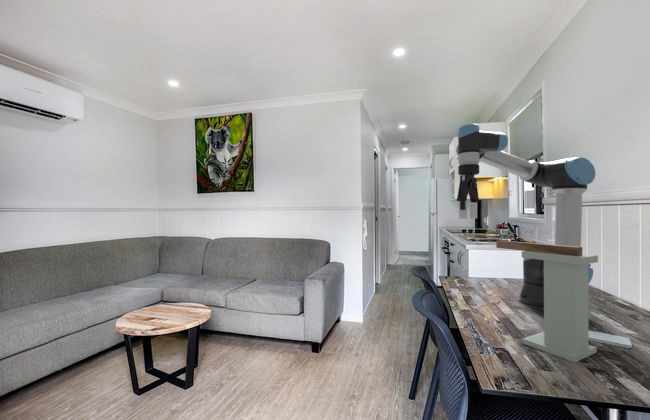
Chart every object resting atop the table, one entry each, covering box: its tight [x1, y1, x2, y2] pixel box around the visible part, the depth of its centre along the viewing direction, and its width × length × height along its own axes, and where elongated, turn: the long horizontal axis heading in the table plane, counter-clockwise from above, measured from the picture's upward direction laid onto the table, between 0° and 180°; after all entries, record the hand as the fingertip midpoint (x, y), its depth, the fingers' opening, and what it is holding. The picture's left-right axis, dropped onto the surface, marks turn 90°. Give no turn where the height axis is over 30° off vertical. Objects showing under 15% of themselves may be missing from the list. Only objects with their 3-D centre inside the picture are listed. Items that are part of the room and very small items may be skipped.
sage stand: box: [521, 250, 599, 363], centre depth 94 cm, size 13×16×29 cm
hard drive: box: [589, 330, 633, 349], centre depth 100 cm, size 2×8×12 cm
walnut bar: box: [495, 239, 583, 256], centre depth 99 cm, size 3×24×2 cm, turn 28°
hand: (468, 218), depth 120 cm, fingers open, 13 cm apart
